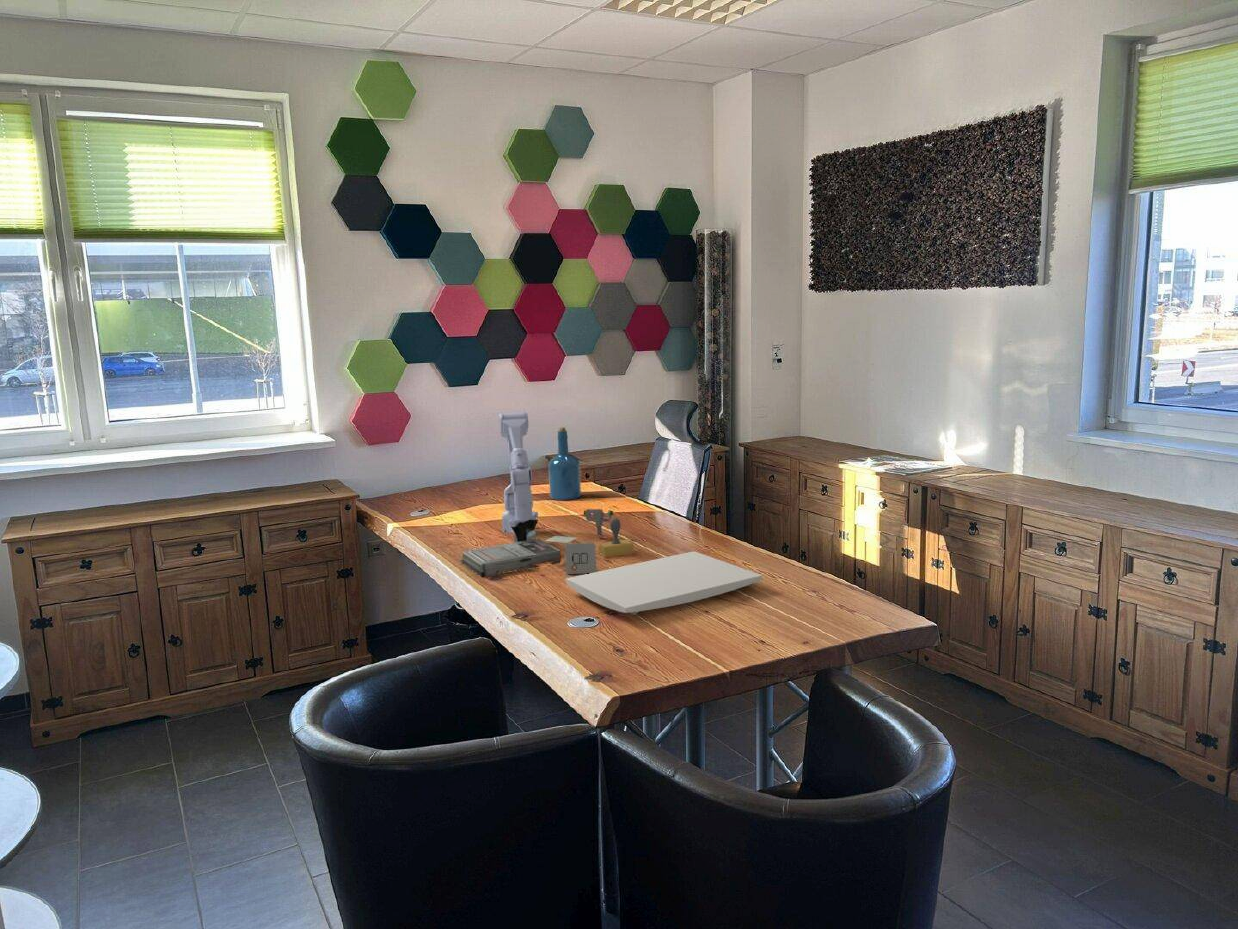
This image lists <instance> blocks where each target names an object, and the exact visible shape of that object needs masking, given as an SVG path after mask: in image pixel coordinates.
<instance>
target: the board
mask: <svg viewBox="0 0 1238 929" xmlns="http://www.w3.org/2000/svg"><path fill="white" fill-rule="evenodd" d="M760 581H763V575H762V574H760V573H756V572H754V571H751V570H747V569H746V568H742V567H740V566H737V565H735V564H731V563H728V562H726V561H723V560H719V559H717V558H714V557H712V556H709V555H705V554H703V553H700V552H697V551H689V552H685V553H679V554H674V555H671V556H666V557H665V556H664V557H660V558H657V559H656V558H655V559H652V560H648V561H642V562H637V563H632V564H628V565H622V566H620V567H619V566H618V567H614V568H609V569H605V570H600V571H599V570H598V571H596V572H594V573H589V574H579V575H576V576H575V575H574V576H572V577H571V576H570V577H567V578H565V583H566V584H567V585H568V586H569V588H570V587H571V588H572V589H573V590H574V591H576V592H577V593H579V594H580V595H582V596H583V597H585V598H587V599H588V600H590V601H592V602H594V603H595V604H598V605H600V606H602V607H604V608H608V609H610V610H613V611H617V612H620V613H625V614H626V613H630V614H631V615H634V616H635V615H638V614H639V612H644V611H651V610H655V609H662V608H668V607H673V606H678V605H682V604H687V603H692V602H696V601H700V600H703V599H708V598H711V597H714V596H718V595H722V594H725V593H728V592H731V591H735V590H738V589H740V588H742V587H746V586H750V585H751V584H754V583H758V582H760Z"/></svg>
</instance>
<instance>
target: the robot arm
mask: <svg viewBox="0 0 1238 929" xmlns="http://www.w3.org/2000/svg"><path fill="white" fill-rule="evenodd" d="M498 422H499V431H500V436H501V437H503V438H505V439H506V441H507V446H508V461H509V474H510V484H508V486H507V487H505V489H504V490H503V501H504V502H503V503H504V510H505V511H503V513H502V518H501V521H502V523H501V526H502V533H506V534H507V533H509V534H513V535H514V533H515V535H516V538H517V541H518V542H521V541H525V534H526V529H535V530H536V527H537V524H538V523H539V520H538V519H537V518H539V511H533V507H534V504H533V503H534V501H533V500H534V499H533V494H532V487H531V486H532V484H533V483H532V482H533V474H532V469H531V465H530V464H529V459H528V458H529V457H528V451H527V450H525V449H524V442H523V437H524V436H527V434H528V431H529V416H528V413H527V412H526V411H524V412H511V413H510V412H509V413H502V412H501V413H499V415H498Z"/></svg>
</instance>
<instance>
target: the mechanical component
mask: <svg viewBox="0 0 1238 929" xmlns="http://www.w3.org/2000/svg"><path fill="white" fill-rule="evenodd" d="M583 515H584V516H585V520H586V521H587V522H595V524H594V525H595V527H596V534H597V535H598V536H599V535H600V536H602V535H603V534H602V533H603V532H602V526H603V523H606V522H610V521H611V520H612V517H613V516H614V510H611V509H609V510H608V511H607V513H605V512H604V510H603V509H602V508H601V509H600V508H597V509H596V508H594V509H593V508H590V509H589V508H588V509H587V508H586V510H583ZM592 515H593V516H592ZM604 517H605V518H604ZM606 517H608V518H606Z"/></svg>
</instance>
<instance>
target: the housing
mask: <svg viewBox="0 0 1238 929" xmlns="http://www.w3.org/2000/svg"><path fill="white" fill-rule="evenodd" d="M513 537H514V543H515V542H518V541H517V538H516V535H515V533H514V534H513ZM533 539H537V534H536V528H535V529H526V534H525V541H527V540H533Z"/></svg>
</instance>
